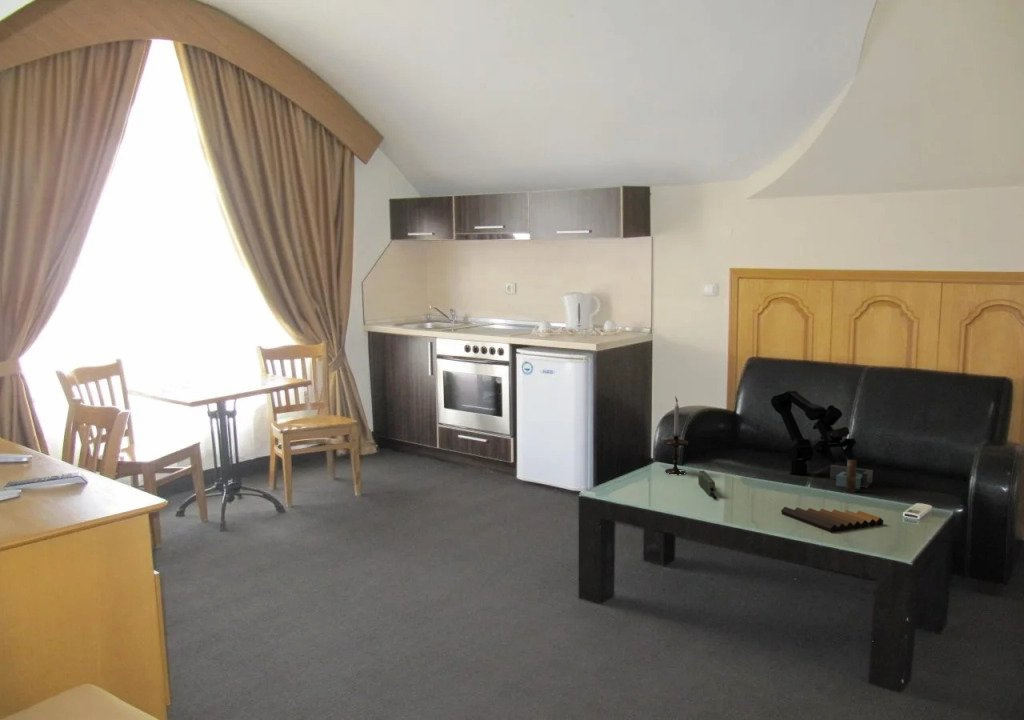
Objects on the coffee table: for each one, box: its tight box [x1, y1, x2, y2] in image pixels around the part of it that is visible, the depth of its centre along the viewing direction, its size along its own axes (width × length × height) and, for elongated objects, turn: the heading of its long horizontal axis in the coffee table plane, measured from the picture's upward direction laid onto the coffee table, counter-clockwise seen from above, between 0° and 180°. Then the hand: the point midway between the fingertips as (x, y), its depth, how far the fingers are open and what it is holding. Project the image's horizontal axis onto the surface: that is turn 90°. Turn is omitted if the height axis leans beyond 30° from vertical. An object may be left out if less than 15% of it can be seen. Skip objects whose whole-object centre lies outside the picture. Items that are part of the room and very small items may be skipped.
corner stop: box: [829, 464, 874, 487], centre depth 372 cm, size 17×10×6 cm, turn 55°
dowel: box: [845, 459, 858, 494], centre depth 358 cm, size 4×4×13 cm
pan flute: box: [780, 506, 884, 534], centre depth 318 cm, size 25×3×25 cm
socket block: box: [835, 472, 862, 489], centre depth 370 cm, size 10×10×4 cm
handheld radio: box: [697, 470, 718, 500], centre depth 356 cm, size 7×3×25 cm
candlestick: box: [663, 395, 689, 475], centre depth 389 cm, size 11×11×35 cm
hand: (843, 462), depth 362 cm, fingers open, 9 cm apart
